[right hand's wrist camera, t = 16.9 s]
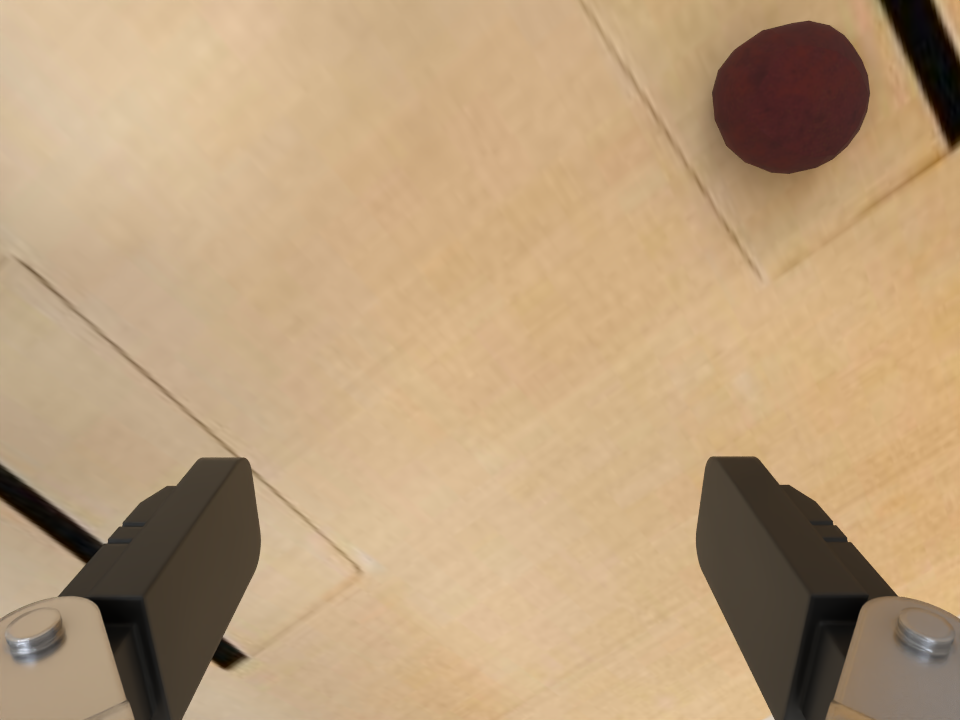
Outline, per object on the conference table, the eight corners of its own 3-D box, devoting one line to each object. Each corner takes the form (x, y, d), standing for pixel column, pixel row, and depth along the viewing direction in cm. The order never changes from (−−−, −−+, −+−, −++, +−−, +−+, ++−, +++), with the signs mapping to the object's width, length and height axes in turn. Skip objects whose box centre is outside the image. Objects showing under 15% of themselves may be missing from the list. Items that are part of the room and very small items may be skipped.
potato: (783, 187, 39) (844, 201, 33) (671, 133, 38) (710, 137, 32) (854, 65, 37) (934, 54, 30) (736, 4, 36) (794, -21, 29)
